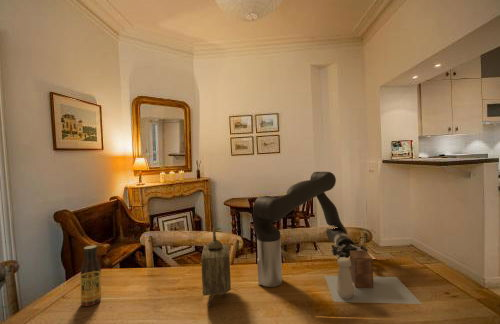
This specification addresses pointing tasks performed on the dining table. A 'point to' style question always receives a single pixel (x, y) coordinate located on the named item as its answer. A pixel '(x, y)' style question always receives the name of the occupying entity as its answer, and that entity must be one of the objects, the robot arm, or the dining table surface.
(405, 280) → the dining table surface
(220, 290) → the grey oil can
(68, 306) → the dining table surface
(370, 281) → the block
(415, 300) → the board
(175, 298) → the dining table surface
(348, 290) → the salt shaker
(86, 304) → the sauce bottle
